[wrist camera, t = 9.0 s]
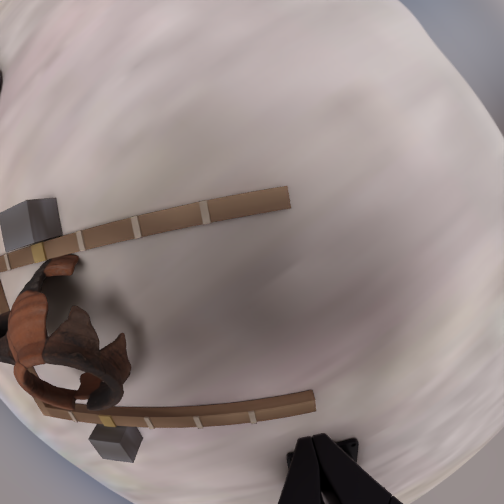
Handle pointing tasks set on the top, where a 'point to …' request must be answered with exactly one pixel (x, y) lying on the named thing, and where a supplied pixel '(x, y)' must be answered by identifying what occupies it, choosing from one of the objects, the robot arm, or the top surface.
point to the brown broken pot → (61, 347)
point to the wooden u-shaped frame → (48, 226)
